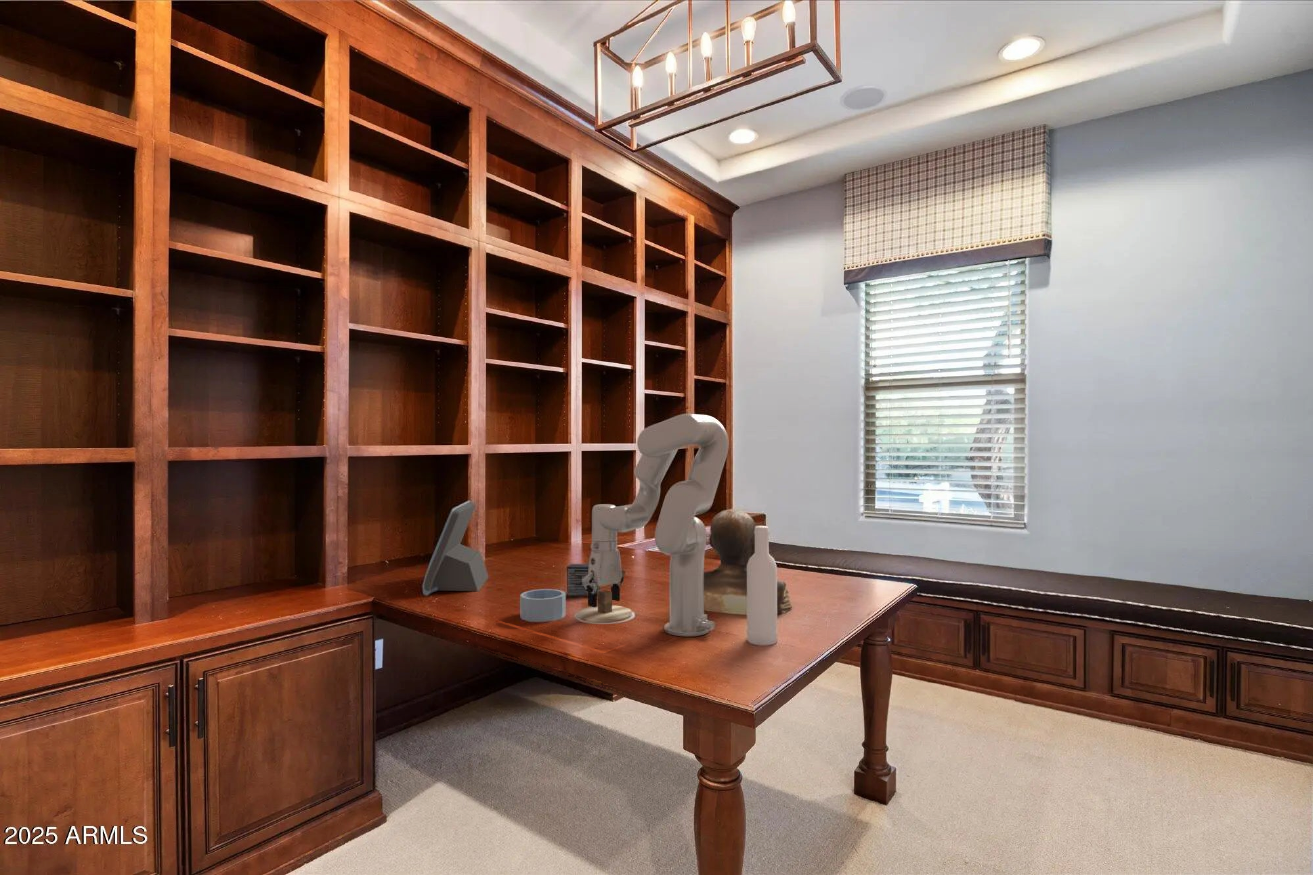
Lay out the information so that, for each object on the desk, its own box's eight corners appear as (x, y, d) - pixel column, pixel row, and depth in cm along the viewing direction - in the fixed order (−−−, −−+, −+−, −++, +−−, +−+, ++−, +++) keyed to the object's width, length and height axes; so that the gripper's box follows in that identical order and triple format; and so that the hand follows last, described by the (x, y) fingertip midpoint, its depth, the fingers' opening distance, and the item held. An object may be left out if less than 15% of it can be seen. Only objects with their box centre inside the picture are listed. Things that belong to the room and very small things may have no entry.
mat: (647, 616, 193) (647, 614, 193) (605, 629, 179) (605, 627, 179) (604, 606, 205) (604, 604, 205) (561, 618, 191) (561, 616, 191)
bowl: (574, 616, 193) (574, 593, 193) (540, 626, 183) (539, 601, 183) (545, 609, 201) (545, 587, 201) (511, 618, 191) (511, 594, 191)
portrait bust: (779, 620, 189) (779, 514, 189) (672, 606, 205) (671, 509, 205) (798, 603, 208) (797, 508, 208) (698, 592, 224) (697, 503, 224)
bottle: (756, 634, 174) (756, 523, 175) (782, 640, 169) (782, 526, 170) (741, 641, 168) (740, 526, 168) (767, 647, 163) (767, 529, 163)
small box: (600, 593, 222) (600, 563, 223) (597, 598, 216) (597, 566, 216) (570, 593, 223) (570, 562, 224) (566, 597, 217) (566, 566, 217)
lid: (642, 614, 193) (642, 590, 193) (605, 626, 181) (604, 601, 181) (604, 605, 203) (604, 583, 203) (566, 616, 191) (566, 592, 191)
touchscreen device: (440, 575, 254) (442, 499, 254) (490, 575, 256) (493, 500, 256) (416, 596, 219) (419, 508, 219) (475, 596, 221) (478, 509, 222)
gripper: (592, 551, 183) (591, 611, 183) (633, 543, 196) (632, 600, 196) (574, 548, 188) (573, 606, 188) (615, 541, 201) (615, 596, 201)
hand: (604, 603), depth 192 cm, fingers open, 9 cm apart
